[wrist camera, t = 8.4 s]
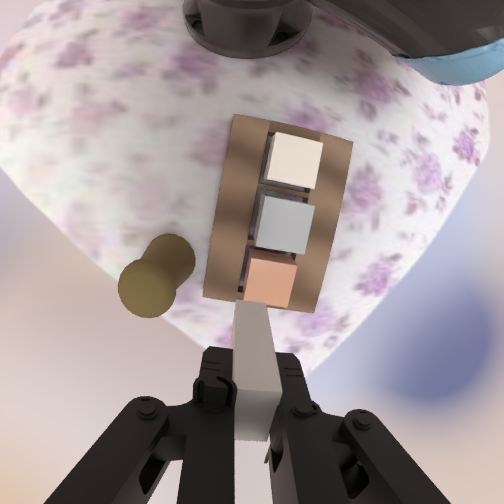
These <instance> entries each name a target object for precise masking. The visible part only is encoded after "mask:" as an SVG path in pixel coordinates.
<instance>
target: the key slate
mask: <svg viewBox="0 0 504 504" xmlns="http://www.w3.org/2000/svg"><path fill="white" fill-rule="evenodd" d="M314 209H315V206H313V205H310V204H308V203H305V202H300V201H295V200H291V199H286V198H281V197H276V196H271V195H266V194H262V195H261V200H260V205H259V210H258V215H257V221H256V226H255V231H254V236H253V238H254V242H255V246H258V247H263V248H269V249H275V250H280V251H286V252H292V253H298V254H303V255H304V254H305V249H306V245H307V241H308V236H309V232H310V227H311V223H312V218H313V213H314Z"/></svg>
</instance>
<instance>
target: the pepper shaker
mask: <svg viewBox="0 0 504 504" xmlns="http://www.w3.org/2000/svg"><path fill="white" fill-rule="evenodd" d="M194 267H195V255H194V251H193V249H192V247H191V246H190V244H189V243H188V242H187V241H186V240H185V239H183V238H182V237H180V236H177V235H175V234H164V235H161V236H158V237H157V238H155V239H154V240H152V242H151V243H150V245H149V246H148V247H147V249H146V251H145V252H144V254H143V256H142V257H141V259H139V260H135V261H133V262H132V263H130V264H129V265H128V266H126V267H125V269H124V270H123V272H122V273H121V275H120V278H119V282H118V293H119V296H120V298H121V301H122V303H123V304H124V306H125V307H126V308H127V309H128V310H129V311H131V312H132V313H133V314H135V315H137V316H140V317H145V318H153V317H158V316H160V315H162V314H163V313H165V312H166V311H167V310H168V309H169V308H170V307H171V306H172V304H173V302H174V299H175V296H176V289H177V288H178V287H179V286H180V285H181V284H182V283H183V282H184V281H185V280H186V279H187V278H188V277H189V276H190V275H191V274H192V272H193V269H194Z"/></svg>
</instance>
